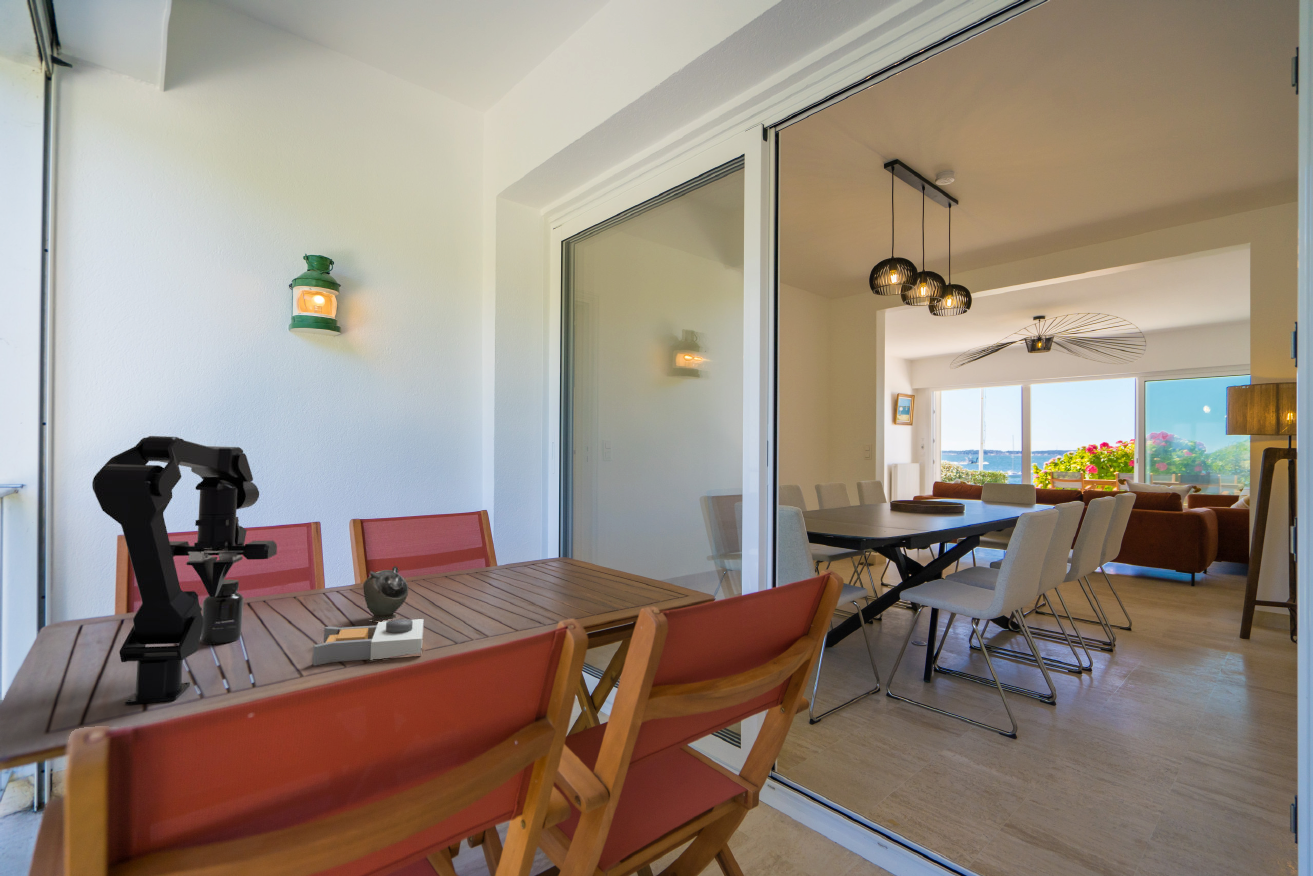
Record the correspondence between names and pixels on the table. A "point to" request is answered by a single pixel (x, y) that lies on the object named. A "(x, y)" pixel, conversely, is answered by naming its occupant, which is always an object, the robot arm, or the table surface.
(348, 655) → the forked block with knob
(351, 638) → the orange stepped block
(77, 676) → the table surface
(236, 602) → the supplement bottle
